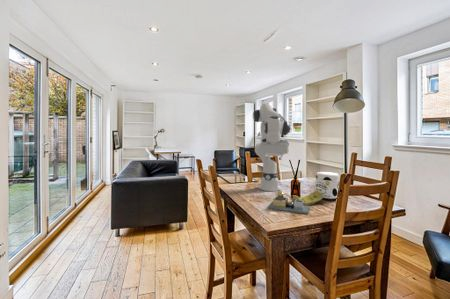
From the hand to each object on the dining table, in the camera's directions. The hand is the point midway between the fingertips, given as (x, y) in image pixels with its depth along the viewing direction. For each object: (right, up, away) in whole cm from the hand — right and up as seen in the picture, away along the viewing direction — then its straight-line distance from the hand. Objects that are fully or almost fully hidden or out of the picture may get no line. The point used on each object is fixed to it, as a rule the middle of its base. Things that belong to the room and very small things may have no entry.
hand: (273, 159), depth 169 cm
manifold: (+7, -30, -15) cm, 35 cm away
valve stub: (+2, -29, -13) cm, 31 cm away
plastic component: (+23, -30, -3) cm, 38 cm away
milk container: (+41, -29, +10) cm, 51 cm away
